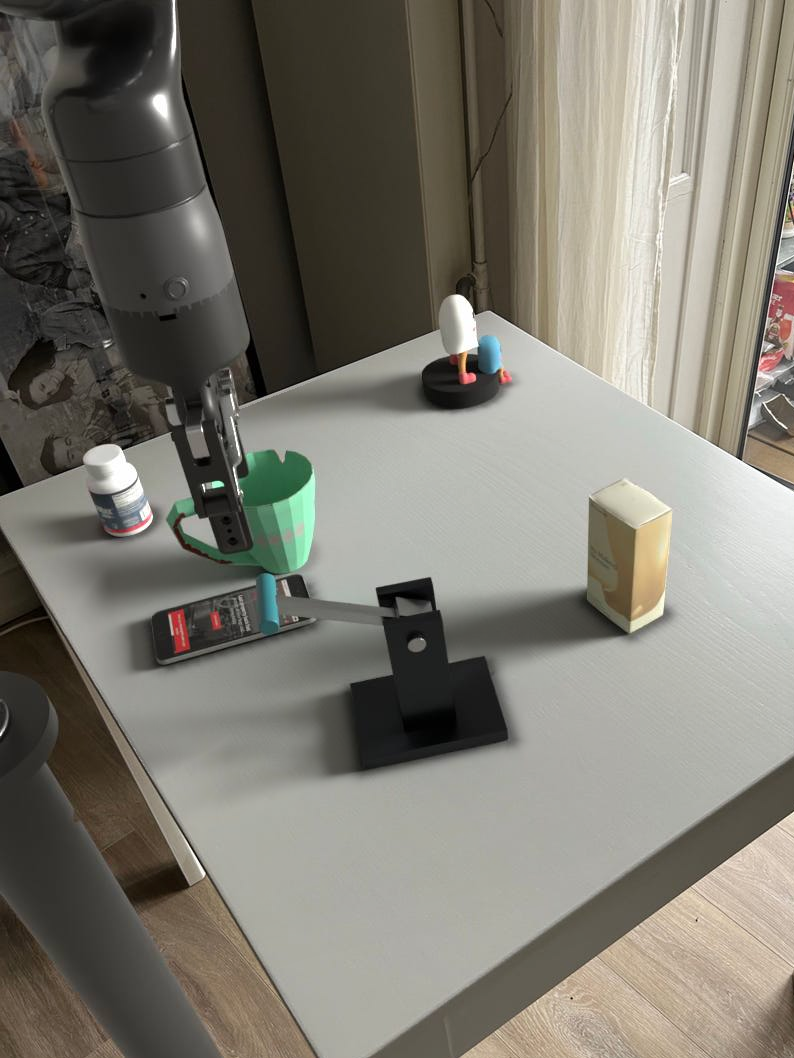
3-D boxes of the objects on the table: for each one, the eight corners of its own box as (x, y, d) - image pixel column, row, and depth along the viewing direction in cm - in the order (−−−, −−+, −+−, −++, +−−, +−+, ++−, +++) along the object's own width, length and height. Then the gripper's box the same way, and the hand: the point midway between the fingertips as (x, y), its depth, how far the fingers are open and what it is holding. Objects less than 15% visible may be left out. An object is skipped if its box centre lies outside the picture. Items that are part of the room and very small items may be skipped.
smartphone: (149, 613, 95) (301, 572, 98) (151, 618, 95) (303, 577, 98) (156, 662, 90) (316, 617, 92) (158, 668, 90) (318, 623, 93)
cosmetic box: (585, 601, 92) (584, 493, 84) (620, 581, 94) (622, 474, 85) (631, 637, 88) (634, 528, 80) (667, 616, 90) (674, 507, 81)
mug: (319, 519, 105) (300, 438, 98) (343, 572, 98) (324, 489, 91) (183, 558, 102) (153, 478, 95) (198, 616, 95) (167, 533, 88)
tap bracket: (364, 770, 80) (335, 658, 71) (352, 692, 86) (324, 580, 77) (508, 739, 81) (497, 625, 72) (485, 664, 87) (473, 551, 78)
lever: (256, 639, 70) (261, 614, 69) (253, 591, 74) (258, 566, 73) (429, 656, 75) (438, 633, 74) (418, 610, 79) (426, 587, 78)
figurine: (520, 397, 120) (514, 303, 112) (431, 415, 119) (419, 321, 111) (501, 362, 127) (494, 271, 119) (417, 378, 126) (404, 287, 117)
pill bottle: (96, 524, 108) (67, 455, 102) (139, 503, 110) (112, 434, 104) (119, 544, 105) (89, 474, 99) (162, 522, 107) (136, 452, 101)
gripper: (106, 239, 60) (181, 465, 71) (86, 344, 50) (178, 588, 61) (229, 220, 61) (285, 447, 72) (235, 320, 50) (299, 566, 61)
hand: (236, 511), depth 66 cm, fingers open, 8 cm apart
